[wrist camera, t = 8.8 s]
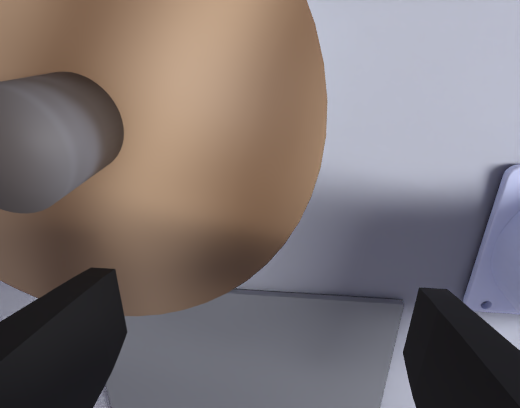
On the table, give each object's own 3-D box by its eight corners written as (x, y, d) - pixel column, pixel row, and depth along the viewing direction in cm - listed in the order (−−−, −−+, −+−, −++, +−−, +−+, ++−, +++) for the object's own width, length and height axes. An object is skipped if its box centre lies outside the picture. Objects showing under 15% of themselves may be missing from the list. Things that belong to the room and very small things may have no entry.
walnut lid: (392, -148, 8) (461, -274, 5) (277, 331, 15) (272, 421, 11) (-245, -257, 8) (-609, -452, 5) (-81, 266, 15) (-191, 335, 12)
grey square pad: (402, 299, 20) (404, 304, 19) (359, 486, 28) (360, 493, 27) (84, 279, 21) (80, 283, 21) (128, 464, 29) (126, 469, 28)
